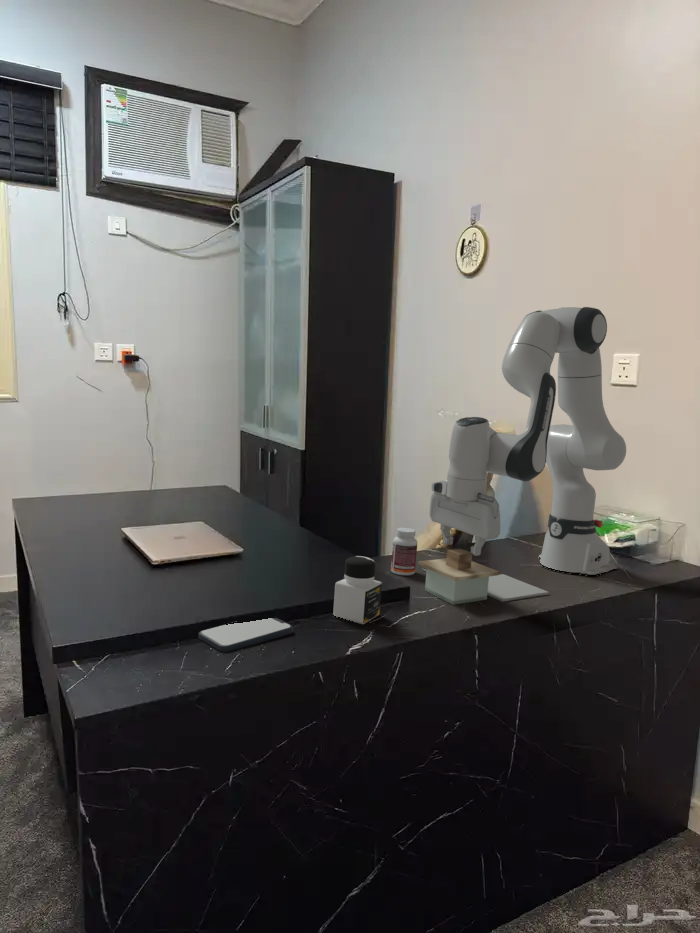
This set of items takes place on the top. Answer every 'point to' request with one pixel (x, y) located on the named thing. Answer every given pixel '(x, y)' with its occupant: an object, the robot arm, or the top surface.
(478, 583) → the pale green storage bin
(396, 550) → the pill bottle
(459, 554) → the lid
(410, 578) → the top surface
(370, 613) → the medicine bottle
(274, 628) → the phone case
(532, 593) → the mat
